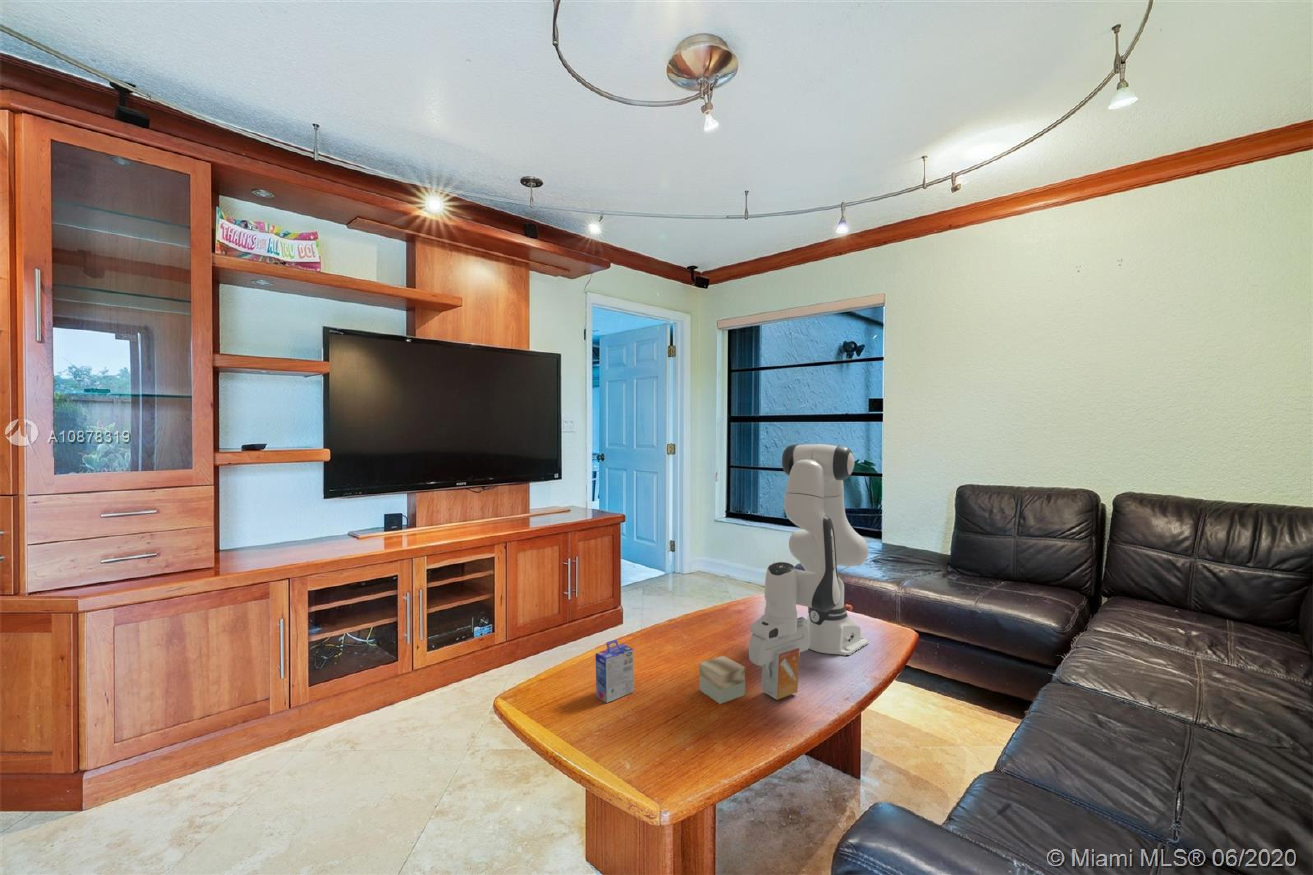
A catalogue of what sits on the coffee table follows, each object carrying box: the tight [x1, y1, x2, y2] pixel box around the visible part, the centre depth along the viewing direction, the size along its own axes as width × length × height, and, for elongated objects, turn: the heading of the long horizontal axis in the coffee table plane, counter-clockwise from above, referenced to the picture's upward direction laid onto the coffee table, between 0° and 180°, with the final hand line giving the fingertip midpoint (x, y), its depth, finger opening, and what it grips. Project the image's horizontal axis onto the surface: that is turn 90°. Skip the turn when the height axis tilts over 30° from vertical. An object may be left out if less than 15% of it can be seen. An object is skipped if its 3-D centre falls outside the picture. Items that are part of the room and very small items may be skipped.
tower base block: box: [699, 677, 746, 705], centre depth 153 cm, size 9×9×4 cm
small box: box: [761, 645, 800, 701], centre depth 151 cm, size 8×6×13 cm
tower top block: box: [698, 655, 746, 690], centre depth 153 cm, size 9×9×4 cm
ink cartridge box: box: [595, 639, 635, 704], centre depth 151 cm, size 10×6×14 cm, turn 132°
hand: (780, 672), depth 151 cm, fingers closed on small box, 8 cm apart
